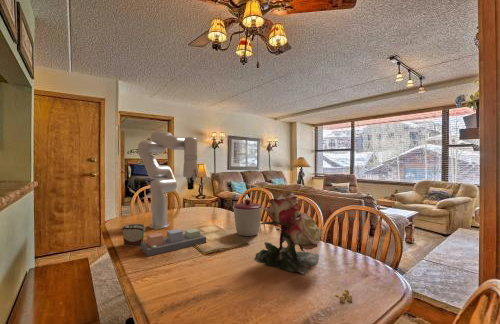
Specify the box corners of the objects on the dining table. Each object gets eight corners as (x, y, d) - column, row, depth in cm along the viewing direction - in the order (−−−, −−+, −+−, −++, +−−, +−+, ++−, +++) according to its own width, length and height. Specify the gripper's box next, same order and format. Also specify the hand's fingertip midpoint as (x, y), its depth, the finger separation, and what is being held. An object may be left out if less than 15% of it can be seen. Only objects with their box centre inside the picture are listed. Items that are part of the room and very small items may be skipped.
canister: (227, 236, 140) (227, 200, 140) (240, 228, 157) (240, 196, 157) (256, 240, 133) (256, 202, 133) (266, 231, 150) (266, 197, 150)
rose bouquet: (315, 279, 91) (315, 199, 90) (249, 261, 106) (249, 193, 106) (331, 256, 112) (332, 192, 112) (274, 244, 128) (275, 187, 128)
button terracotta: (146, 244, 119) (146, 234, 119) (159, 242, 123) (159, 232, 123) (150, 248, 114) (150, 237, 114) (163, 245, 118) (163, 235, 118)
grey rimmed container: (150, 242, 129) (150, 223, 129) (143, 246, 123) (143, 227, 123) (128, 241, 131) (128, 223, 131) (121, 245, 125) (121, 226, 124)
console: (140, 248, 120) (140, 241, 120) (195, 236, 139) (195, 230, 139) (148, 256, 111) (148, 248, 111) (206, 242, 130) (206, 235, 130)
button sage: (185, 239, 132) (185, 230, 132) (195, 237, 135) (195, 228, 135) (189, 242, 127) (189, 232, 127) (200, 240, 131) (200, 230, 131)
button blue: (166, 240, 125) (166, 230, 125) (177, 238, 129) (178, 228, 129) (171, 243, 121) (171, 233, 121) (182, 241, 124) (182, 231, 124)
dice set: (347, 294, 81) (347, 289, 81) (355, 303, 76) (356, 297, 76) (333, 295, 81) (333, 289, 81) (340, 304, 76) (340, 298, 76)
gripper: (179, 158, 145) (179, 188, 145) (190, 158, 134) (190, 191, 134) (191, 158, 150) (190, 187, 150) (202, 158, 138) (202, 190, 139)
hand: (190, 189), depth 142 cm, fingers closed
